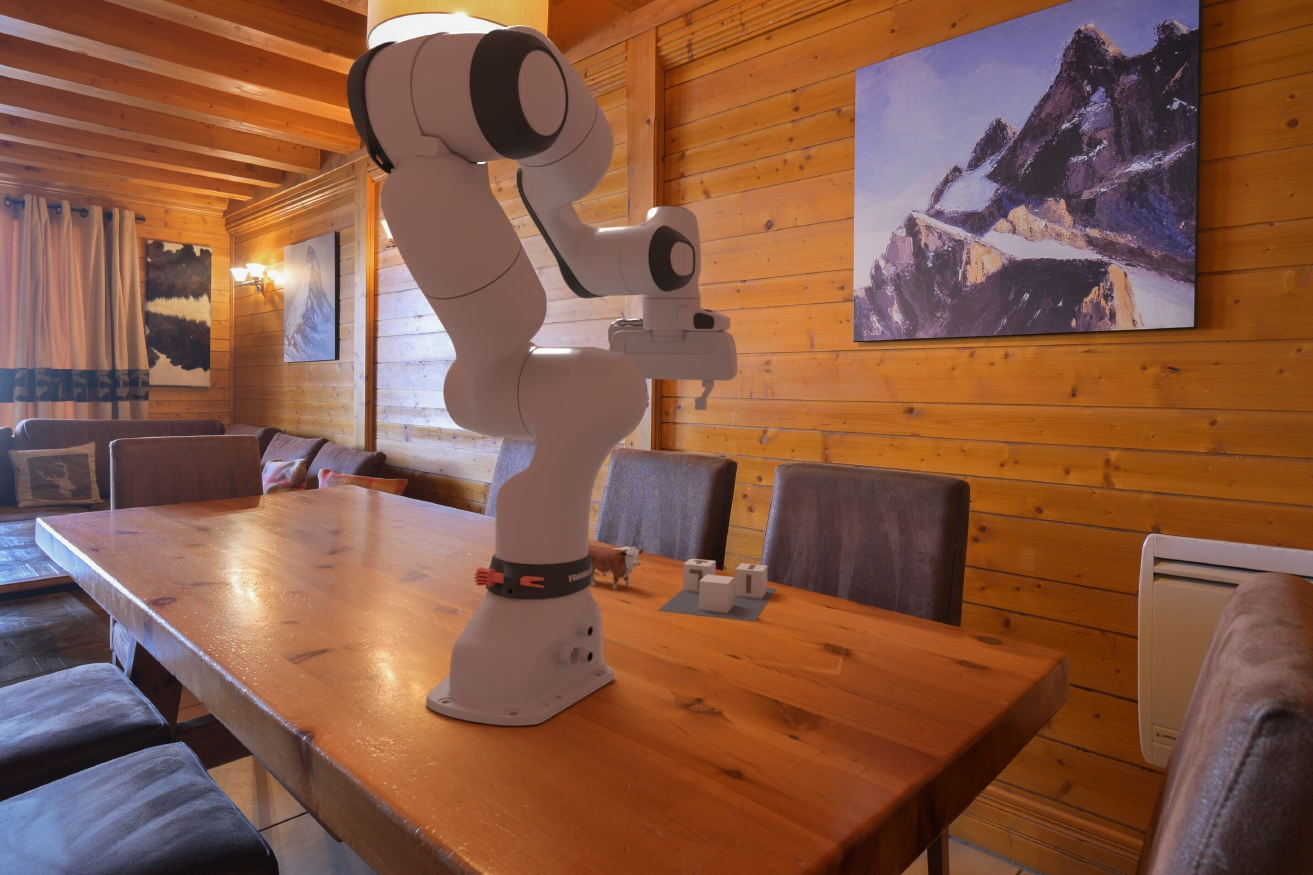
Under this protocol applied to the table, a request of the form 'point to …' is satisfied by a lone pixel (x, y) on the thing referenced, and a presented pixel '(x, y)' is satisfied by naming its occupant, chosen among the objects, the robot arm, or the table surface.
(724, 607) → the plain block
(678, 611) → the mat
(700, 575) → the digit block 7
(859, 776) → the table surface
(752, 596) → the digit block 1
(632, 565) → the bull figurine
